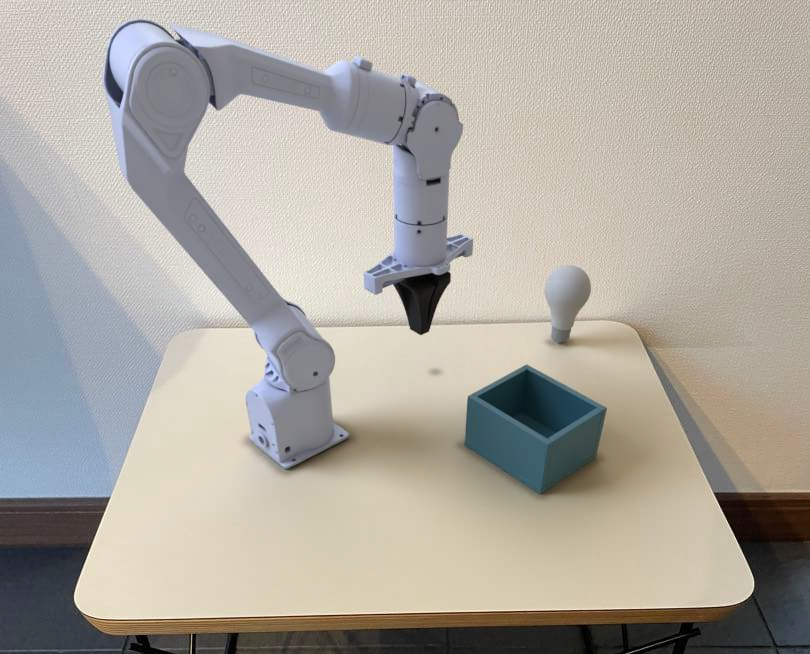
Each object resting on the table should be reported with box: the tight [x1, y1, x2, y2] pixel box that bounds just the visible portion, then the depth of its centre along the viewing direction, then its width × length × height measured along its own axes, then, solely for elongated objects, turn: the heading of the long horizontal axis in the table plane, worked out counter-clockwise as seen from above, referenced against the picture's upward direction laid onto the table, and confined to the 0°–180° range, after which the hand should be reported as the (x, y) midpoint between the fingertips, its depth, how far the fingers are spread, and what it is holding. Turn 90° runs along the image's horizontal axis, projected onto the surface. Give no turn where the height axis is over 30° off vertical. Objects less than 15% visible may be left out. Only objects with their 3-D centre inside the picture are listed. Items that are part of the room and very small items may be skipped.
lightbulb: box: [544, 264, 592, 344], centre depth 104 cm, size 6×6×11 cm
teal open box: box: [464, 363, 608, 495], centre depth 88 cm, size 7×12×10 cm
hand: (419, 330), depth 90 cm, fingers closed
